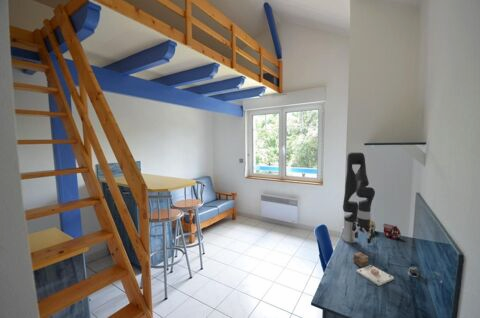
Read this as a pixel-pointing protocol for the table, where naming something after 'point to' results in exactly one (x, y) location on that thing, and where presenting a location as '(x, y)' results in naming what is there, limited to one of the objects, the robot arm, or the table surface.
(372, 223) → the beige lumpy ball
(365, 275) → the base plate
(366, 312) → the table surface
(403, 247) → the table surface
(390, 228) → the toy fire truck
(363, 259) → the walnut cap block
